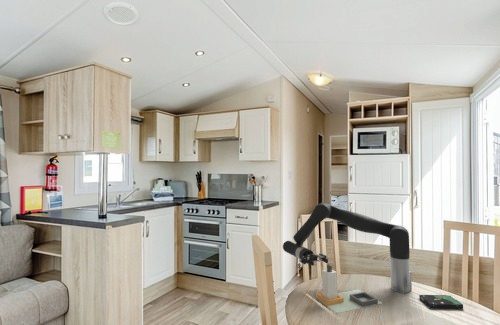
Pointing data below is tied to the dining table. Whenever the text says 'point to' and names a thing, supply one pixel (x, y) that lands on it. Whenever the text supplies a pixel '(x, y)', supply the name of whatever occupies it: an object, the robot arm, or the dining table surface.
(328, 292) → the white square bottle
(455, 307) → the disk drive
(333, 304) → the panel
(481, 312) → the dining table surface
